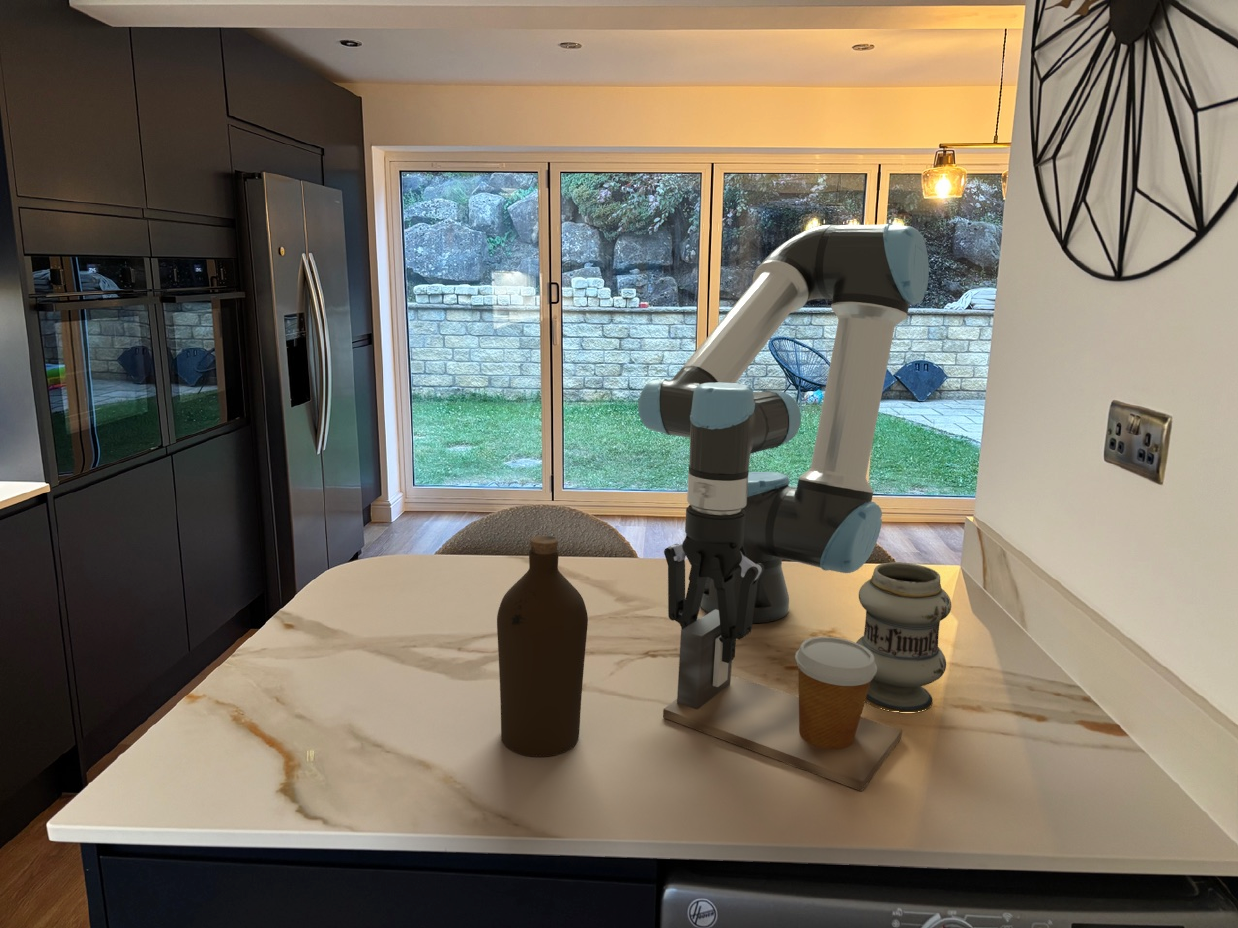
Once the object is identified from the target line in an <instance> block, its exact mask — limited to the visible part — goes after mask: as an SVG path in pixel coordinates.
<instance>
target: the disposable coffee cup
mask: <svg viewBox="0 0 1238 928" xmlns="http://www.w3.org/2000/svg"><path fill="white" fill-rule="evenodd" d="M794 659H795V662H796V664H797V668H798V670H797V671H798V674H797V675H798V676H797V677H798V697H799V733H800V735H801V737H802V738H803V739H804V740H806V741H807V742H808V743H810V744H812V745H815V746H818V747H821V748H827V749H842V748H845V747H848V746H850V745H851V744H852V743H853V741H854V738H855V735H856V731H857V727H858V724H859V721H860V717H862V713H863V709H864V707H865V706H864V705H865V703H866V701H865V699H866V696H867V693H868V689H869V686H870V682H871V680H872V679H873V677H874V675H875V674H876V672H877V666H876V664H875V661H874V656H873V654H872V653H871V651H869V650H868V649H867V648H865V647H864V646H862V645H860V644H858V643H856V642H855V641H852V640H848V639H845V638H841V637H832V636H817V637H810V638H807V639H805V640H804V641H802V643H801V644H800V646H799V649H798V650H797V651H796V652H795V655H794Z"/></svg>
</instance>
